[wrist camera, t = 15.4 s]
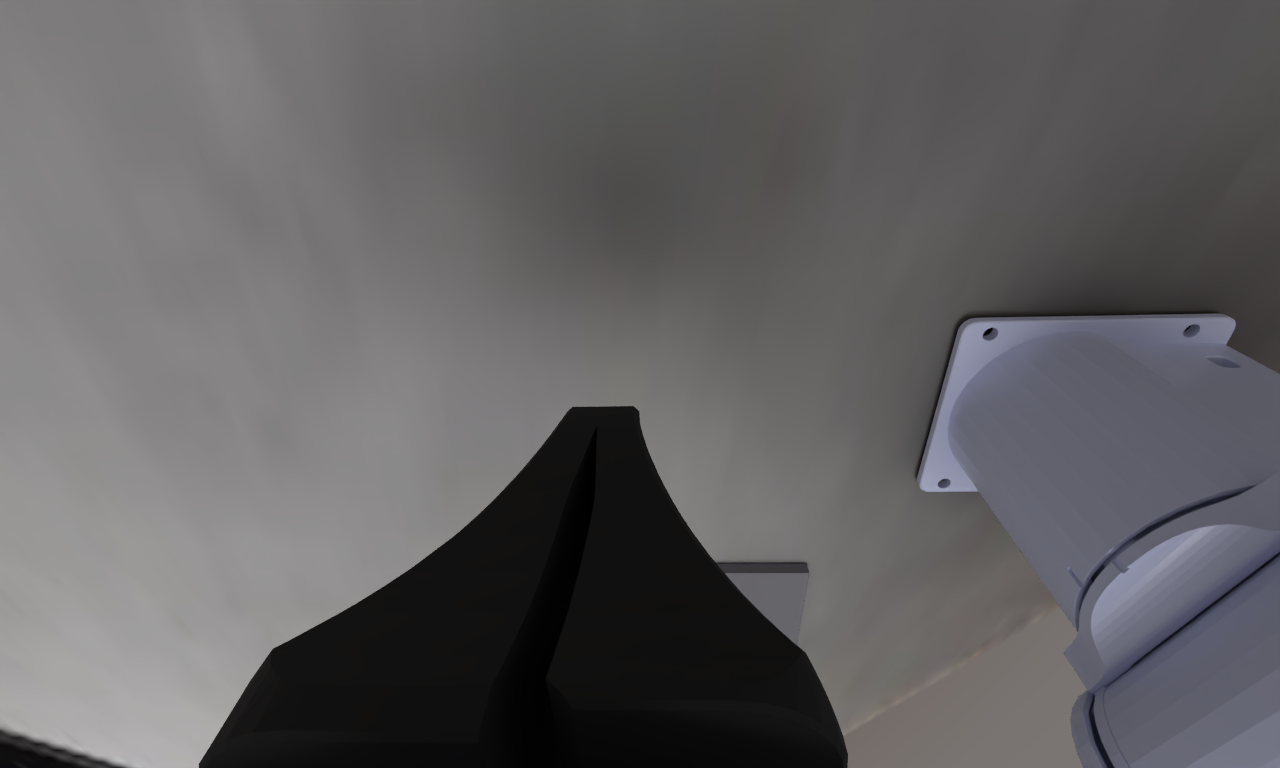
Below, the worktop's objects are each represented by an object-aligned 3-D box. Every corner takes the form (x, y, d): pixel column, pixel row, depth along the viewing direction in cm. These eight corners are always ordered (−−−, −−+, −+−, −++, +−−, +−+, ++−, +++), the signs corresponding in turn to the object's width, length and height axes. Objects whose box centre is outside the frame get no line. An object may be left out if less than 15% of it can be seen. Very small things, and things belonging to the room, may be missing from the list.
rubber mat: (806, 563, 28) (809, 573, 27) (782, 705, 34) (784, 715, 34) (560, 563, 28) (558, 573, 28) (580, 703, 35) (579, 713, 34)
